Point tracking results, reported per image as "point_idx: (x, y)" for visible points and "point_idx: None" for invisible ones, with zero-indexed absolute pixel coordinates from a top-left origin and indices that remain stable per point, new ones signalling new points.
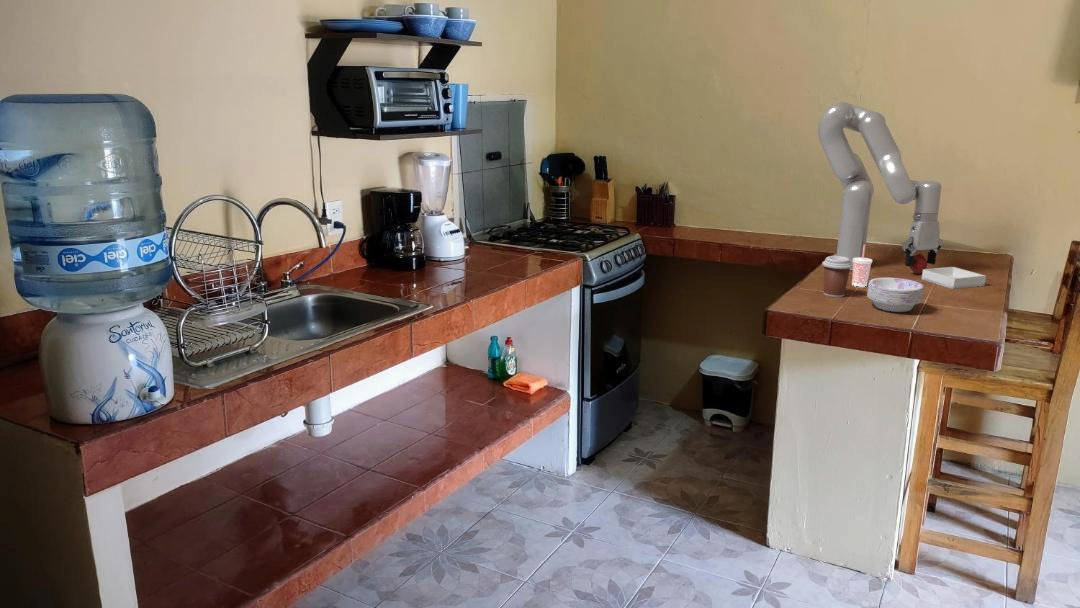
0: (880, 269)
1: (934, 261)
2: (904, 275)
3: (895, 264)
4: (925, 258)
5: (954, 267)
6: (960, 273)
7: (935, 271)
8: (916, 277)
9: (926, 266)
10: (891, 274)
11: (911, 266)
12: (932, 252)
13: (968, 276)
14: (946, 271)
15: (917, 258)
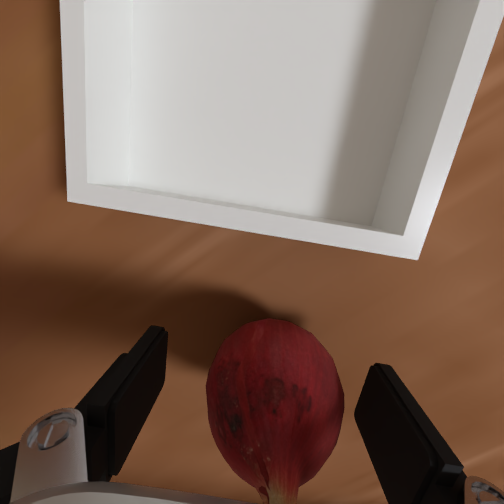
0: (354, 474)
1: (150, 340)
2: (369, 348)
3: (189, 491)
4: (242, 395)
5: (80, 179)
6: (112, 103)
7: (291, 215)
8: (353, 287)
9: (247, 328)
10: (413, 394)
11: (389, 368)
12: (100, 449)
13: (116, 5)
14: (174, 196)
15: (329, 427)
